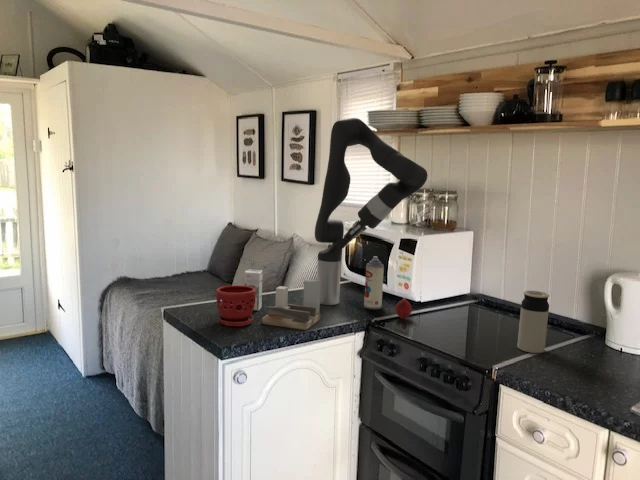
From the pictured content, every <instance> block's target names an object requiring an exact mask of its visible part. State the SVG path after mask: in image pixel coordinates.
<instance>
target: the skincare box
mask: <svg viewBox="0 0 640 480" xmlns="http://www.w3.org/2000/svg"><path fill="white" fill-rule="evenodd" d="M302 306H309V307H316V313H319V314H320V311H321V310H320V308H321V307H320V306H321V304H320V280H317V279H314V278H313V279H308V278H307V279H306V278H304V279H303V304H302Z"/></svg>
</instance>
